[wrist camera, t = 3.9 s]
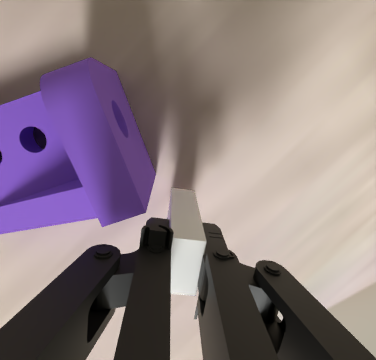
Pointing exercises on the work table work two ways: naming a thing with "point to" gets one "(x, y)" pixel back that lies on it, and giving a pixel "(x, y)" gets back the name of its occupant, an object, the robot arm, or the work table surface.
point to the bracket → (72, 152)
